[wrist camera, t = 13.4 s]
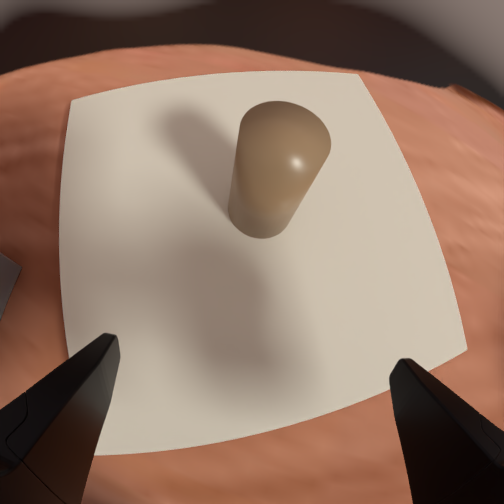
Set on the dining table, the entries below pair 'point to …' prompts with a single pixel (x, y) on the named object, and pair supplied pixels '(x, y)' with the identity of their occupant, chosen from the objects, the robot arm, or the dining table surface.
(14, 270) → the tray
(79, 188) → the tub lid
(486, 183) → the dining table surface
